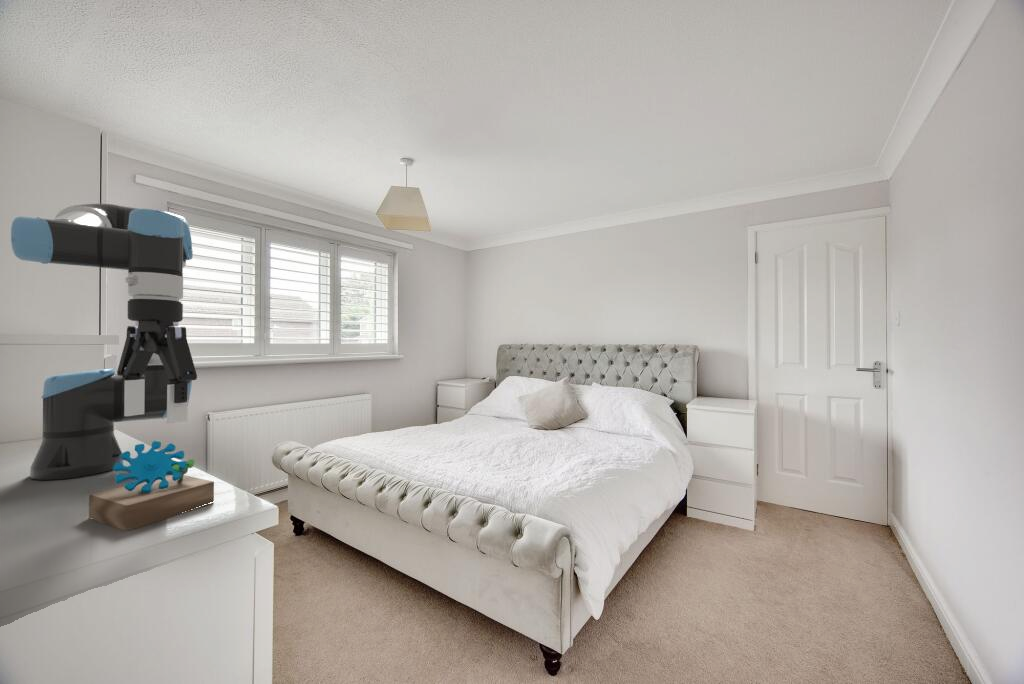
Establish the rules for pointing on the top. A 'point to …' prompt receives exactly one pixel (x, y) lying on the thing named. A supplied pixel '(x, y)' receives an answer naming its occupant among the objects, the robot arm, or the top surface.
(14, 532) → the top surface
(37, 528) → the top surface
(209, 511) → the top surface
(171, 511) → the brown rectangular block
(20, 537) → the top surface
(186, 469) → the gear
